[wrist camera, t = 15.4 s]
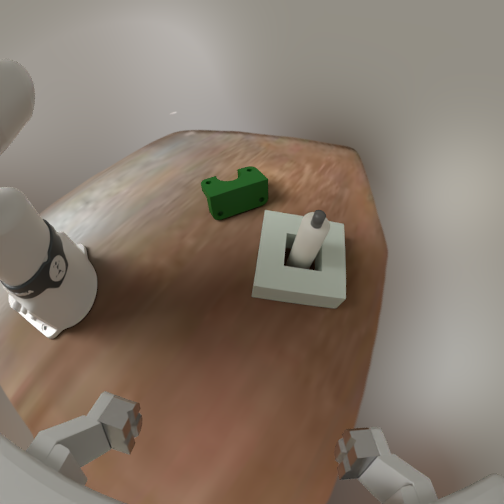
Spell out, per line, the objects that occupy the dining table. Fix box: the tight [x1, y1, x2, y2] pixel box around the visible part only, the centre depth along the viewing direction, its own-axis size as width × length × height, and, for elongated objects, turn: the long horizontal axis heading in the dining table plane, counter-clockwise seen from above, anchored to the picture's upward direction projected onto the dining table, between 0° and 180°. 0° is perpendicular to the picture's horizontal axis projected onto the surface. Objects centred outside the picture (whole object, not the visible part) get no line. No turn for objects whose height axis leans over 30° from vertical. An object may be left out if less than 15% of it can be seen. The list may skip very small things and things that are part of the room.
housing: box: [252, 210, 346, 309], centre depth 45 cm, size 14×14×4 cm
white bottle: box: [286, 210, 330, 269], centre depth 41 cm, size 4×4×14 cm
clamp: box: [201, 167, 268, 220], centre depth 51 cm, size 12×6×9 cm, turn 111°
